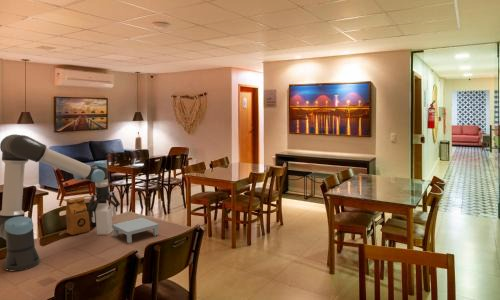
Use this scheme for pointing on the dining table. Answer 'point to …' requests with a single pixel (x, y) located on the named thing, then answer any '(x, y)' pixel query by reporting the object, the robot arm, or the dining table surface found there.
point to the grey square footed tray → (135, 227)
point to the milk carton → (103, 219)
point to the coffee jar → (94, 212)
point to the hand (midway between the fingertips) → (104, 219)
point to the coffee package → (77, 216)
